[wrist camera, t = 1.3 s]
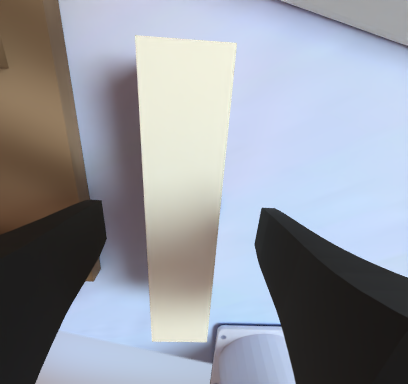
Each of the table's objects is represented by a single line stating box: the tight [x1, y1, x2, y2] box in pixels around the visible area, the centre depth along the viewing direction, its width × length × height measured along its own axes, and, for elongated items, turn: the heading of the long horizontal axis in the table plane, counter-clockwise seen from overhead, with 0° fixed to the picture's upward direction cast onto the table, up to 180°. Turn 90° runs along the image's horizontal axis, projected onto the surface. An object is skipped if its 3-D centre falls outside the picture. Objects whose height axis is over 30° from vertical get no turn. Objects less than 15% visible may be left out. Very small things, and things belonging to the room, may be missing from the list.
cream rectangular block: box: [135, 35, 237, 342], centre depth 12 cm, size 14×3×5 cm, turn 177°
